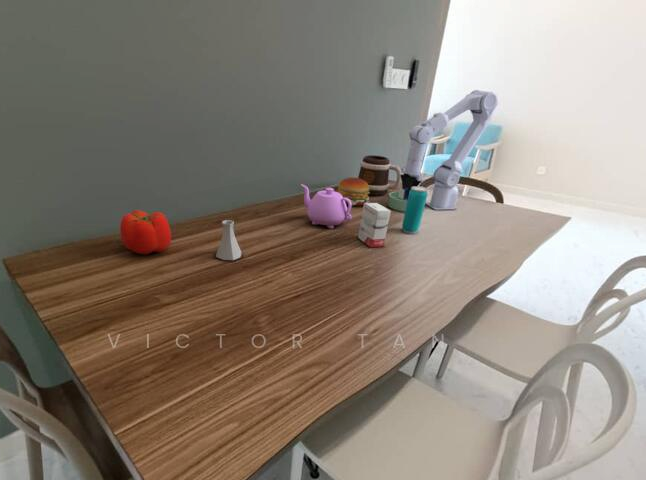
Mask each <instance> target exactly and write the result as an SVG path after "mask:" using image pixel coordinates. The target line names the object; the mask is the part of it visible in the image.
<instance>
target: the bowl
mask: <svg viewBox="0 0 646 480" xmlns="http://www.w3.org/2000/svg"><path fill="white" fill-rule="evenodd" d="M398 194H399V191H393V192H390V193H389V194H388V197H387V198H388V199H387V206H388V207H389V208H390V209H392V210H394V211H397V212H402V213H405V210H406V206H407V201H408V199H401V198H399V197H398Z"/></svg>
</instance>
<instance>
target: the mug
mask: <svg viewBox="0 0 646 480" xmlns="http://www.w3.org/2000/svg"><path fill="white" fill-rule="evenodd" d="M390 170H392V171H395V172H396V175H397V176H396V181H395V184H389V178H390V177H389V176H390ZM400 175H403V173H402V172H401V168H400V167H399V166H398V165H394V164H391V163H390V159H389V158H388V157H386V156H382V155H365V156H363V158H362V160H361V161H360V168H359V173H358V176H357V178H359V179H362V180H364V181H365V182H367V184H368V185H369V192H370V193H369V194H368V197H369V196H370V197H381V196H385V195H387V194H388V191H389V190H391V191H392V190H395V189H397V188H400V185H401V184H402V180H401V177H400Z"/></svg>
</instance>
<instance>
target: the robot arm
mask: <svg viewBox="0 0 646 480" xmlns="http://www.w3.org/2000/svg"><path fill="white" fill-rule="evenodd" d="M498 105H499V101H498V95H497V93H496V92H494V91H486V90H479V89H475V90H472V91H471V92H470V93H467V94H466V95H465V96H464V97H463V98H462V99H461V100H460V101H458V102H457V103H455V104H454V105H453V106H451V107H450V108H449V109H447V110H446V111H445V112H435V113H433V116H432V117H430V118H428V119H427V120H426V121H424V120H423V121H422V122H421V124H418V125H414V126H413V128H412V129H411V131H410V132H409V134H408V135H409V139H410V144H409V149H408V155H407V159H406V164H405V166H401V168H400V169H401V172H402V175H400V177H401V188H408V191H407V196H409V192H410V190H411V187H414V186H418V187H419V185H420V184H422V182H423V181H424V179H425V175H424V174H422V172H421V171H422V170H421V169H422V166H423V160H424V157H425V151H426V148H427V143H429V141H431V139H432V137H433V136H434V135H436V134H437V133H439V132H440V131H442V130H444V129H445V128H446V127H447V126H448V123H449V122H450V121H451V120H453V119H455V118H457V117H459V116H460V115H461V114H463V113H465V112H467V111H470V114H471V115H472V119H473V120H472V122H471V124H470V125H469V127H468V128H467V130H466V131H465V133H464V134H463V136H462V137H461V139H460V141H459V142H458V144H457V146H456V147H455V149H454V150H453V152H452V153H451V155H450V156H449V158H448V159H445V160H444V161H443V162H442V163H441V164H440V165H439V166H438V167H437V168H435V170H434V172H433V176H432V177H433V180H434V186H433V189H432V194H431V198H430V202H425V206H428V207H430V208H432V209H433V210H435V211H436V210H438V211H439V210H440V211H443V210H456V203H457V200H458V196H459V189H458V186H457V184H458V183H459V181H460V178H461V175H462V174H463V166H462V165H463V164H464V162H465V161H466V159H467V158H468V156H469V155H470V153H471V152H472V151H473V149H474V147H475V145H476V144H477V143H478V141H479V140H480V138H481V136H482V135H483V133H484V132H485V130H486V129H487V127H488V126H489V125H490V123H491V120H492V117H493V113H494V111H495V110H496V108H497V107H498Z"/></svg>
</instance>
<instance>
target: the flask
mask: <svg viewBox="0 0 646 480" xmlns="http://www.w3.org/2000/svg"><path fill="white" fill-rule="evenodd" d="M221 224H222V227H223V228H222V236H221V239H220V243H219V245H218V248H217V251H216V254H215V257H216V258H217V259H219V260H223V261H235V260H238V259H240V258H241V257H242V251H241V248H240V246H239V243H238V241H237V238H236V236H235V231H234V224H235V221H234V220H231V219H230V220H229V219H225V220H222V222H221Z"/></svg>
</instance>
